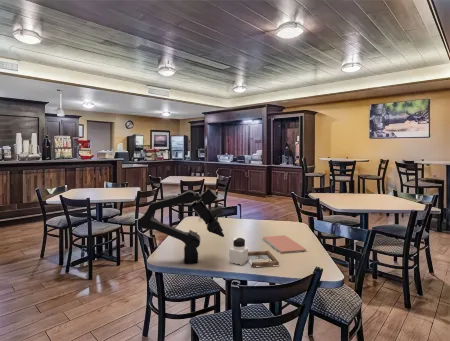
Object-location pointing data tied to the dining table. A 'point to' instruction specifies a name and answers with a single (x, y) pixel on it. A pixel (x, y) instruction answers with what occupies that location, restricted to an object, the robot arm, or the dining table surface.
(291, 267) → the dining table surface
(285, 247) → the notebook
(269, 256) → the wooden picture frame
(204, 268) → the dining table surface
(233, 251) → the medicine bottle
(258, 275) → the dining table surface
